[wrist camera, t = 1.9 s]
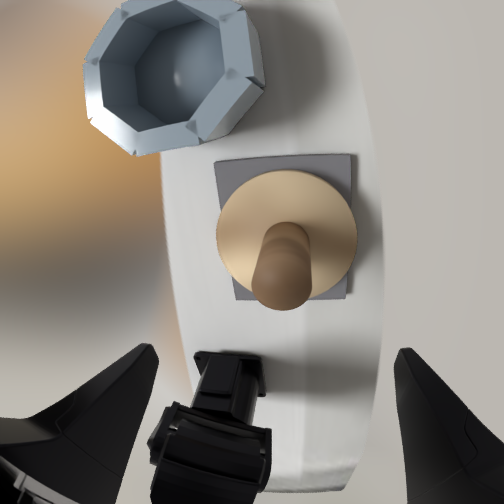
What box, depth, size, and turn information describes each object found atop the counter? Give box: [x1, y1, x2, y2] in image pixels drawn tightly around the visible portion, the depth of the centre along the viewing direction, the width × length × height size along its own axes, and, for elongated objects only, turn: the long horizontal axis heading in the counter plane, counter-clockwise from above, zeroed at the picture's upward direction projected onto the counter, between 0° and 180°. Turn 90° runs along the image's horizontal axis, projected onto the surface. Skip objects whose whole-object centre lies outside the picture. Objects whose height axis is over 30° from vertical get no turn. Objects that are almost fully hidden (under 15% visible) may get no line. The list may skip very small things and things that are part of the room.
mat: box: [214, 154, 351, 300], centre depth 18 cm, size 10×8×1 cm
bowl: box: [83, 0, 266, 156], centre depth 12 cm, size 9×9×4 cm
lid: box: [216, 169, 357, 311], centre depth 15 cm, size 9×9×6 cm
